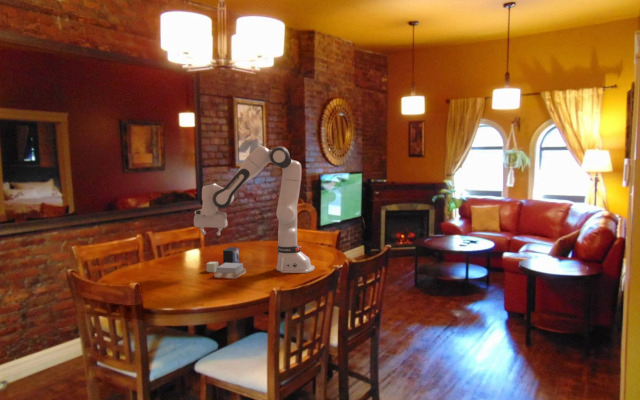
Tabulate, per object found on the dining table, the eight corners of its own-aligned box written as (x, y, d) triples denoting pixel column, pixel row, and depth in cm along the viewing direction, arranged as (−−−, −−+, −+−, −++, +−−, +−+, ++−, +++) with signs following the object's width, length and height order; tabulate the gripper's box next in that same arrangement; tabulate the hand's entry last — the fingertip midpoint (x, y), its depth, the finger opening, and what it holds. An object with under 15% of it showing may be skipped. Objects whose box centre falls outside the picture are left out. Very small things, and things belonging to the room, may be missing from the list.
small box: (233, 267, 274) (232, 250, 273) (222, 267, 275) (222, 250, 274) (239, 263, 284) (239, 247, 283) (229, 263, 285) (229, 246, 284)
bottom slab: (245, 273, 263) (245, 268, 263) (235, 279, 251) (235, 274, 251) (225, 272, 267) (225, 267, 267) (214, 278, 255) (214, 272, 254)
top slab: (243, 268, 263) (242, 263, 262) (235, 273, 252) (235, 268, 252) (225, 267, 265) (225, 262, 265) (216, 272, 255) (216, 267, 254)
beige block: (218, 270, 269) (218, 261, 269) (214, 272, 264) (214, 264, 264) (211, 269, 271) (210, 261, 270) (206, 271, 266) (206, 263, 265)
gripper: (229, 211, 264) (229, 234, 265) (197, 210, 270) (198, 233, 271) (223, 212, 258) (224, 236, 259) (191, 211, 264) (192, 235, 265)
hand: (211, 234), depth 265 cm, fingers open, 8 cm apart
